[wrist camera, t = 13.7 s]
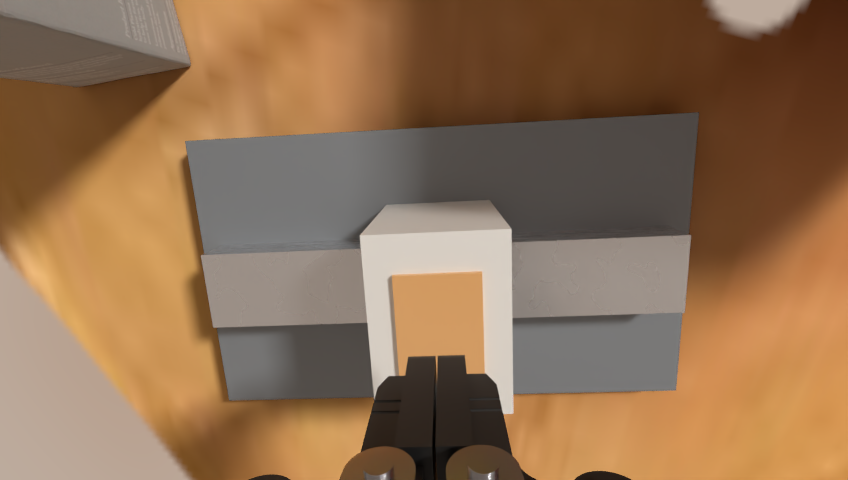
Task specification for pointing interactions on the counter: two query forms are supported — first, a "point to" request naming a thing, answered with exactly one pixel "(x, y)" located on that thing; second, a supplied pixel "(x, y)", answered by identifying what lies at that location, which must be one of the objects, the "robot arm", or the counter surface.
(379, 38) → the counter surface
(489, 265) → the block
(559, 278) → the rail
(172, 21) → the skincare box
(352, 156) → the rail board
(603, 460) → the counter surface
